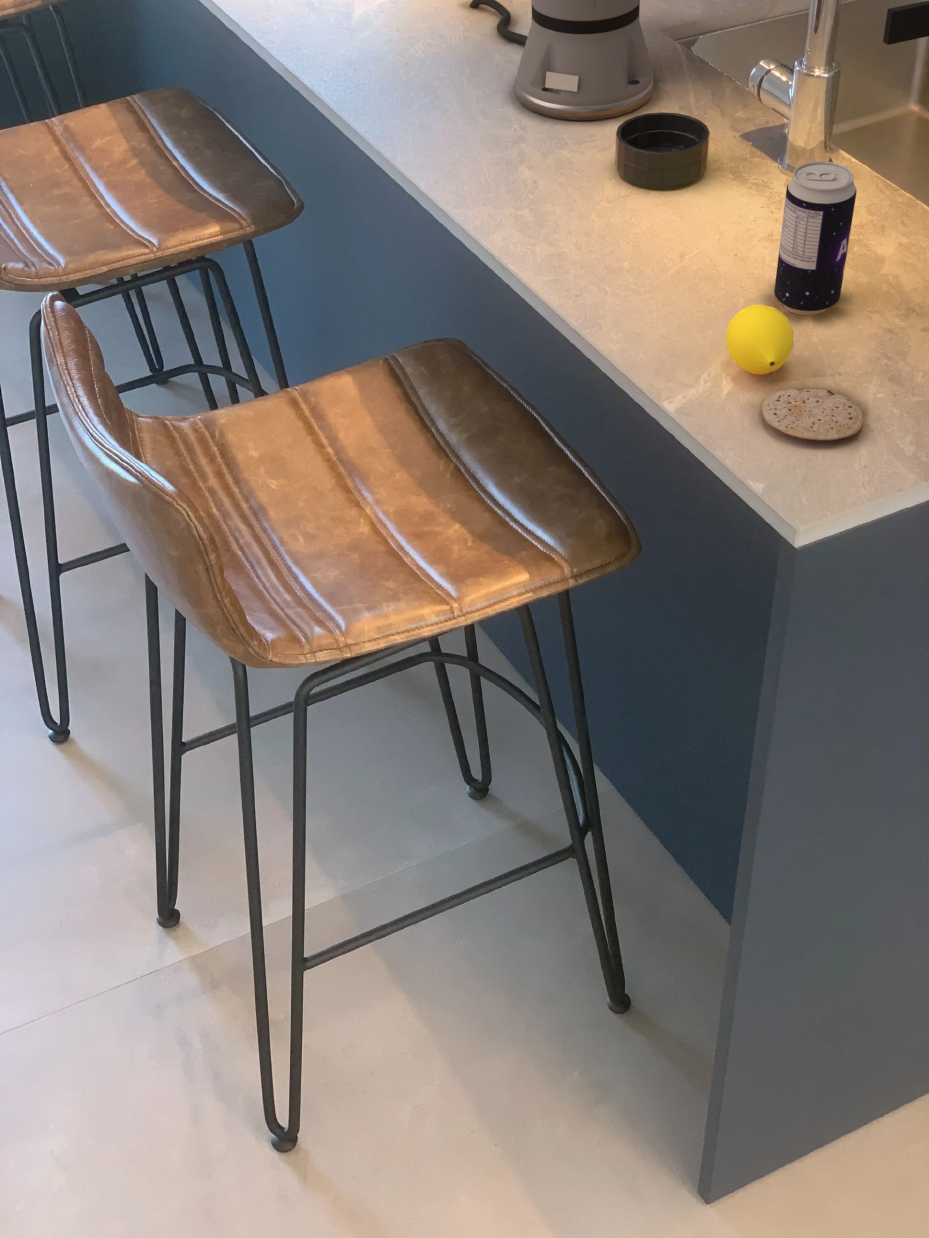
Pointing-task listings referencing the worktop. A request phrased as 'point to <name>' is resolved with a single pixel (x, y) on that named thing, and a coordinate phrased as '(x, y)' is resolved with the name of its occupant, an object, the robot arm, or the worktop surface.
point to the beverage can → (815, 237)
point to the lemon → (759, 339)
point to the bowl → (661, 150)
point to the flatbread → (812, 414)
